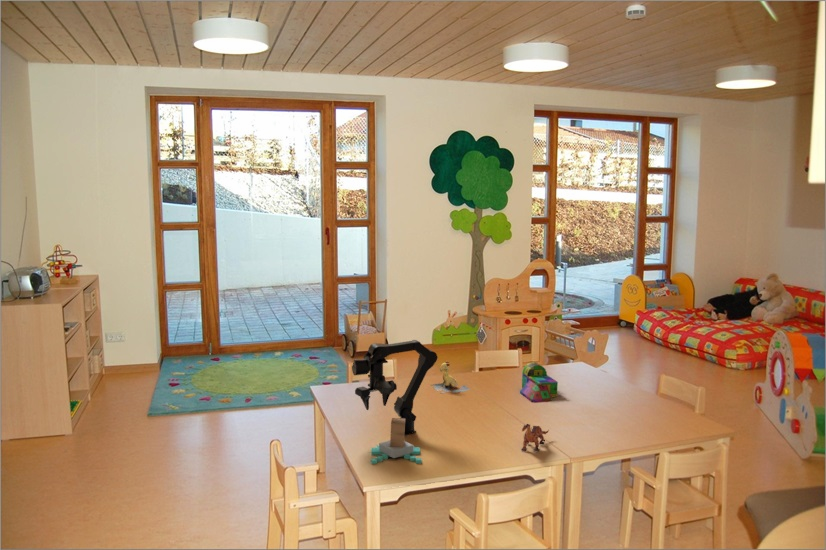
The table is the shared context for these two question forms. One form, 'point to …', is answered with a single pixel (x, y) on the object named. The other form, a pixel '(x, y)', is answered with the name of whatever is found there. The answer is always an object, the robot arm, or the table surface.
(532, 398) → the block puzzle
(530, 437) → the brown animal figure
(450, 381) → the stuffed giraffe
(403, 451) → the slate block
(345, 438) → the table surface
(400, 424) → the walnut block
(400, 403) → the robot arm
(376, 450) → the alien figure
